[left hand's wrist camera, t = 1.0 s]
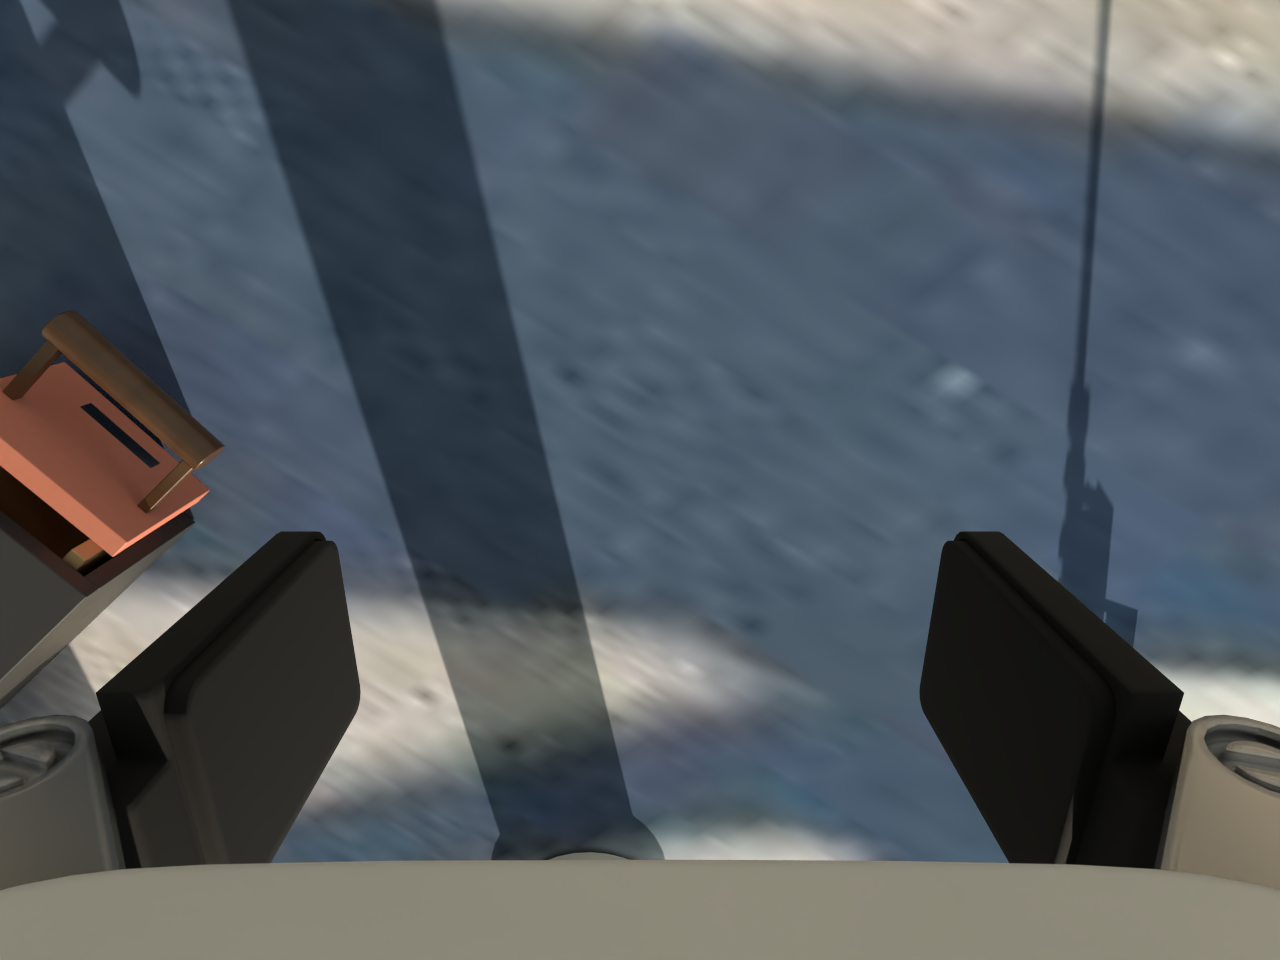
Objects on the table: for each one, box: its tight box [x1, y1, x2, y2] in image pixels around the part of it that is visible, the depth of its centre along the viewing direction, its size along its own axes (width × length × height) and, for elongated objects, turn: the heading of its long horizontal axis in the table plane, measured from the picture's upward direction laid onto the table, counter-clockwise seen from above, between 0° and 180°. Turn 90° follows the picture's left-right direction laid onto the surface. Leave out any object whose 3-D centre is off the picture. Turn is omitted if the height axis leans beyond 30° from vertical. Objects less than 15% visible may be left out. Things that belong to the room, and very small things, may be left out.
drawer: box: [0, 311, 225, 576], centre depth 37 cm, size 25×10×7 cm, turn 130°
